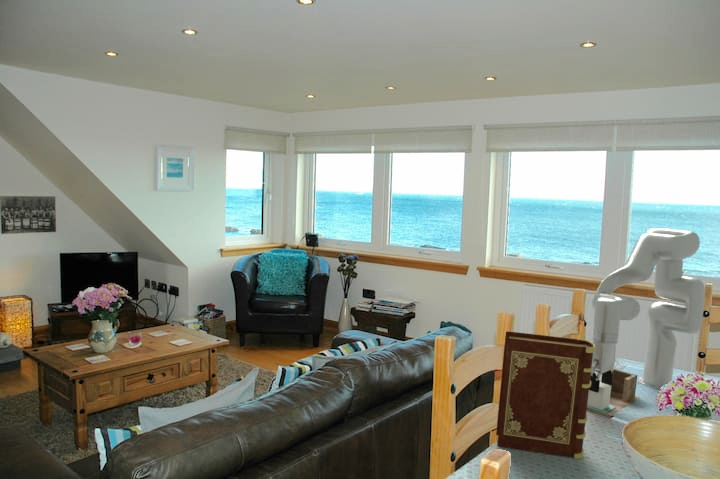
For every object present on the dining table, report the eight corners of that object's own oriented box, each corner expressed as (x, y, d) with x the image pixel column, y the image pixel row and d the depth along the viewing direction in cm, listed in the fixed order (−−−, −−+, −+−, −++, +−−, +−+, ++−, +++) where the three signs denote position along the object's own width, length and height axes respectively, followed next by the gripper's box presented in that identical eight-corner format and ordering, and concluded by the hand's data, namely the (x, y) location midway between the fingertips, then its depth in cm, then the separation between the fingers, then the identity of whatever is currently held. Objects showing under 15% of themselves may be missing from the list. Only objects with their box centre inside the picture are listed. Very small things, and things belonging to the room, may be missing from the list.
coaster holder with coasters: (604, 389, 198) (607, 366, 197) (640, 400, 189) (642, 376, 188) (573, 405, 180) (575, 380, 180) (610, 418, 172) (613, 392, 171)
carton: (609, 406, 178) (611, 385, 178) (602, 410, 175) (604, 388, 174) (591, 400, 183) (593, 379, 182) (583, 403, 179) (586, 382, 179)
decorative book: (579, 446, 151) (591, 340, 148) (585, 460, 143) (598, 348, 140) (496, 434, 155) (505, 330, 152) (497, 447, 148) (507, 338, 145)
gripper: (604, 329, 185) (599, 378, 187) (581, 338, 173) (576, 390, 175) (627, 334, 180) (622, 384, 182) (605, 344, 168) (600, 397, 170)
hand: (600, 387), depth 179 cm, fingers open, 9 cm apart
